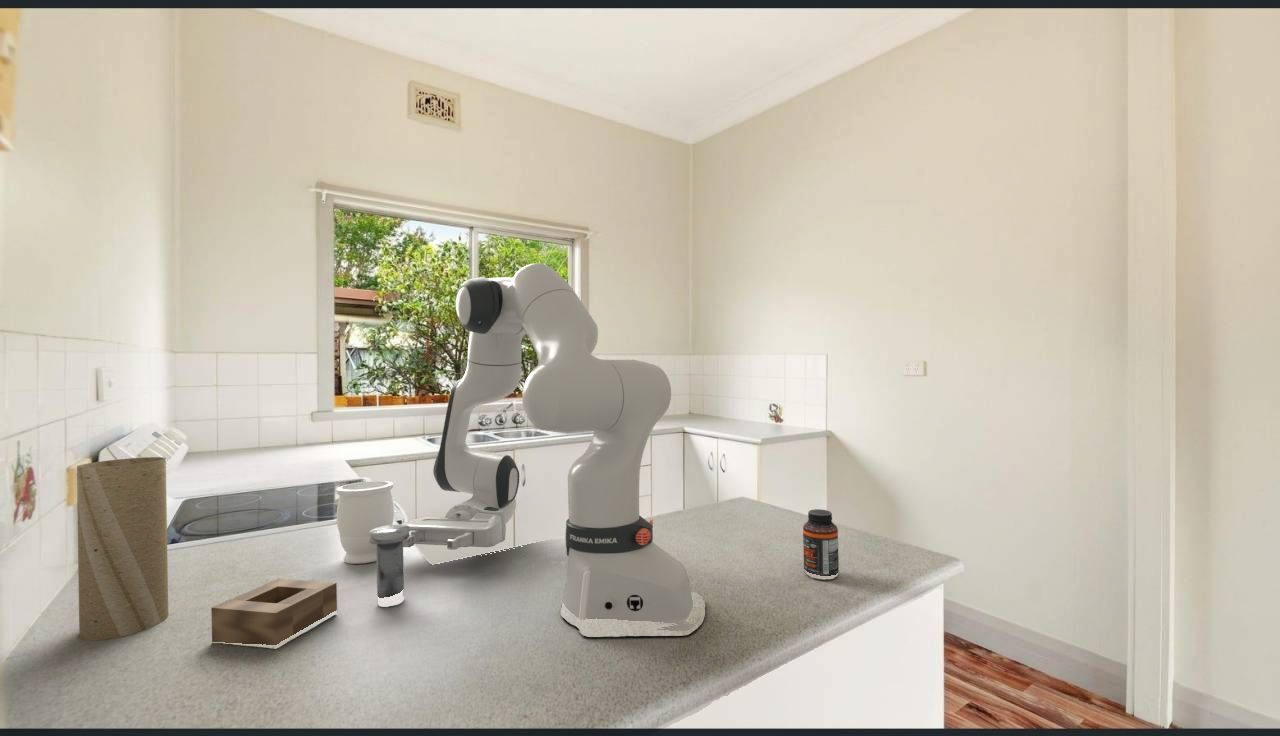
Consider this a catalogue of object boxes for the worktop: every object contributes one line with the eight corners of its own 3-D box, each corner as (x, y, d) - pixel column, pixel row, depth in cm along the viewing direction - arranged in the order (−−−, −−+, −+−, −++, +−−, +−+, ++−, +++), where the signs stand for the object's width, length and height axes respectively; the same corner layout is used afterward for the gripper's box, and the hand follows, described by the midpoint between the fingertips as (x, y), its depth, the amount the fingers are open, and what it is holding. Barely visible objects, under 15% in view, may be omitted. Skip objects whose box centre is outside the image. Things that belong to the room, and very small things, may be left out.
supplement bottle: (796, 572, 99) (795, 510, 99) (822, 567, 101) (820, 506, 102) (820, 584, 94) (818, 517, 94) (846, 577, 96) (844, 513, 96)
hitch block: (337, 614, 86) (336, 582, 86) (276, 649, 75) (275, 613, 75) (278, 609, 88) (278, 578, 88) (212, 643, 78) (211, 607, 78)
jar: (404, 550, 118) (402, 480, 118) (376, 567, 107) (375, 490, 108) (357, 549, 119) (356, 480, 119) (325, 566, 108) (324, 490, 109)
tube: (102, 617, 87) (99, 460, 87) (179, 606, 91) (177, 455, 91) (62, 646, 78) (60, 470, 78) (150, 632, 81) (147, 464, 82)
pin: (418, 596, 92) (416, 525, 93) (395, 611, 87) (393, 535, 87) (387, 594, 94) (385, 523, 94) (362, 609, 88) (360, 534, 88)
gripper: (422, 507, 116) (377, 524, 102) (511, 509, 111) (477, 528, 98) (423, 536, 116) (378, 558, 102) (512, 540, 111) (477, 564, 98)
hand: (427, 544), depth 100 cm, fingers open, 8 cm apart
